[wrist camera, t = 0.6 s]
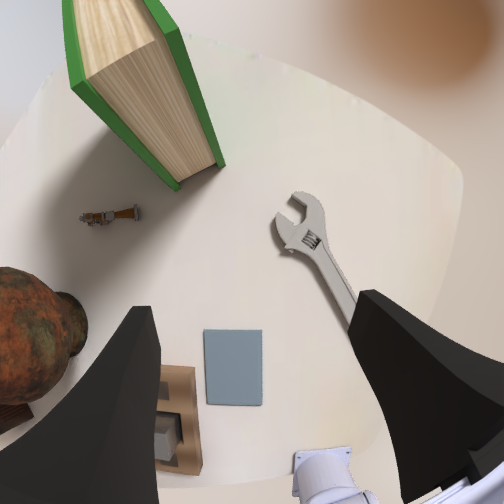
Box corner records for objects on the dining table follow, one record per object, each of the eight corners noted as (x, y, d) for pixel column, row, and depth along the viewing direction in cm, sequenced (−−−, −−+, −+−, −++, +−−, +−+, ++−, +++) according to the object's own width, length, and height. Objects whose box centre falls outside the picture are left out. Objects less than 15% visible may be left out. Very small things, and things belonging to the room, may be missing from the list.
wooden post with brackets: (83, 219, 36) (77, 210, 32) (136, 213, 39) (136, 203, 35) (84, 231, 36) (78, 223, 32) (137, 225, 39) (137, 216, 35)
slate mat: (262, 403, 34) (262, 405, 34) (208, 402, 34) (207, 403, 34) (261, 329, 35) (261, 330, 35) (204, 329, 35) (204, 330, 35)
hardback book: (225, 165, 37) (178, 27, 13) (175, 191, 37) (70, 88, 13) (178, 78, 39) (127, -42, 15) (136, 100, 39) (61, -6, 15)
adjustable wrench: (387, 360, 34) (393, 364, 33) (346, 384, 34) (350, 389, 33) (309, 189, 37) (312, 185, 35) (264, 210, 37) (264, 207, 35)
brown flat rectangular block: (202, 464, 34) (198, 476, 30) (151, 457, 34) (144, 467, 31) (194, 367, 35) (188, 374, 32) (137, 362, 35) (127, 368, 32)
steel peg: (185, 431, 34) (169, 461, 26) (158, 427, 34) (137, 455, 26) (183, 406, 34) (165, 434, 27) (155, 403, 35) (132, 428, 27)
